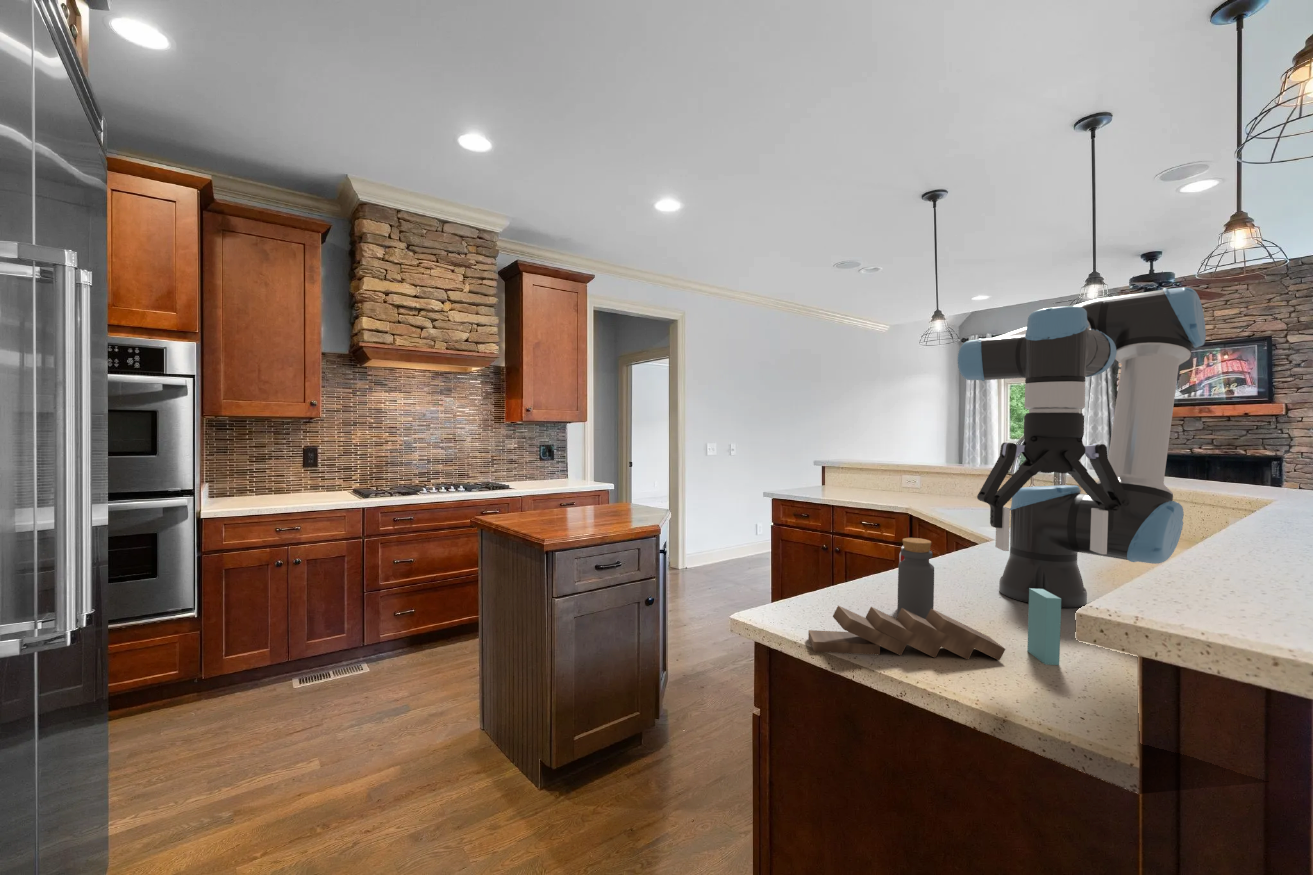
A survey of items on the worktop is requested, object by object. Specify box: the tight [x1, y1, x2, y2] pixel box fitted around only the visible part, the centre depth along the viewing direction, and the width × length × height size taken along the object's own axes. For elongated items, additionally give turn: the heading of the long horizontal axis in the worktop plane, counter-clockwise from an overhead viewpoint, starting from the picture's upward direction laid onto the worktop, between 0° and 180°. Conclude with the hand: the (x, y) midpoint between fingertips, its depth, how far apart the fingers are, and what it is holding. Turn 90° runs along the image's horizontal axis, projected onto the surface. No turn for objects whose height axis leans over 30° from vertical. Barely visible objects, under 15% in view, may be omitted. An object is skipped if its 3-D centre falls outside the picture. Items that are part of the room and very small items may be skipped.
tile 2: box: [926, 608, 1006, 662], centre depth 89 cm, size 2×5×10 cm
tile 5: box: [832, 605, 907, 656], centre depth 90 cm, size 2×5×10 cm
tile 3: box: [895, 608, 975, 660], centre depth 90 cm, size 2×5×10 cm
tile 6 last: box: [807, 629, 881, 656], centre depth 91 cm, size 2×5×10 cm
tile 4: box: [865, 606, 942, 659], centre depth 90 cm, size 2×5×10 cm
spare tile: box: [1027, 588, 1062, 666], centre depth 88 cm, size 2×5×10 cm, turn 173°
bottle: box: [896, 537, 935, 619], centre depth 102 cm, size 6×6×15 cm
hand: (1049, 550), depth 87 cm, fingers open, 13 cm apart
